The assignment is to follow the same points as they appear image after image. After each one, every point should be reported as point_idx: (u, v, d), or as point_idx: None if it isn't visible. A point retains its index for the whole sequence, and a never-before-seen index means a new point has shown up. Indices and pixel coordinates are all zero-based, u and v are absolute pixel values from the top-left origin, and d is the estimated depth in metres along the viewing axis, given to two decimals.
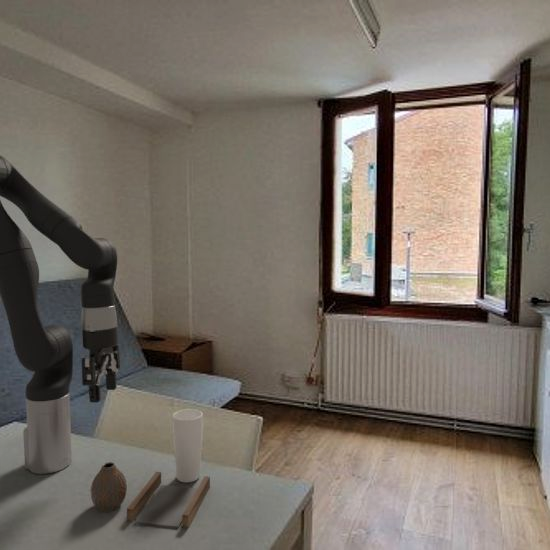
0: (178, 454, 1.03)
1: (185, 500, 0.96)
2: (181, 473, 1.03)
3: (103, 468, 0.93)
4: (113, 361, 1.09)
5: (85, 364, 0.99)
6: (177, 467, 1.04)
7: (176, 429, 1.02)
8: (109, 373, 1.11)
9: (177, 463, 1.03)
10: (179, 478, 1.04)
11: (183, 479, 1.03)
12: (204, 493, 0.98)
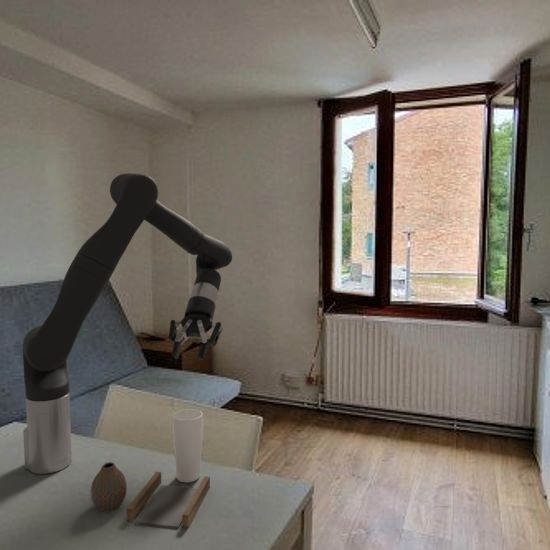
0: (178, 454, 1.03)
1: (185, 500, 0.96)
2: (181, 473, 1.03)
3: (103, 468, 0.93)
4: None
5: (220, 328, 1.20)
6: (177, 467, 1.04)
7: (176, 429, 1.02)
8: (179, 343, 1.19)
9: (177, 463, 1.03)
10: (179, 478, 1.04)
11: (183, 479, 1.03)
12: (204, 493, 0.98)
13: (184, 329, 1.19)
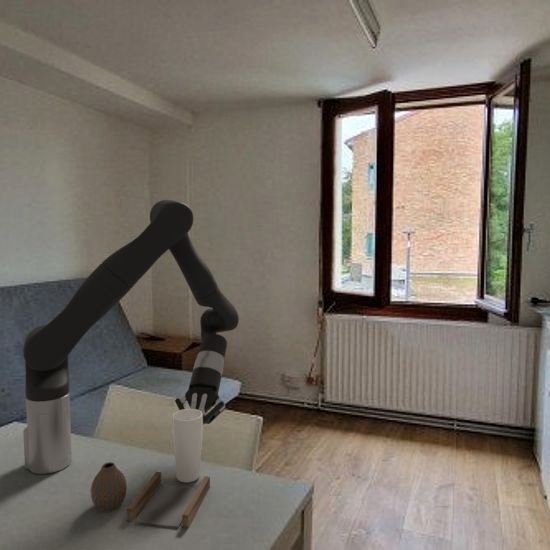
0: (178, 454, 1.03)
1: (185, 500, 0.96)
2: (181, 473, 1.03)
3: (103, 468, 0.93)
4: None
5: (221, 408, 1.13)
6: (177, 467, 1.04)
7: (176, 429, 1.02)
8: None
9: (177, 463, 1.03)
10: (179, 478, 1.04)
11: (183, 479, 1.03)
12: (204, 493, 0.98)
13: (194, 405, 1.12)
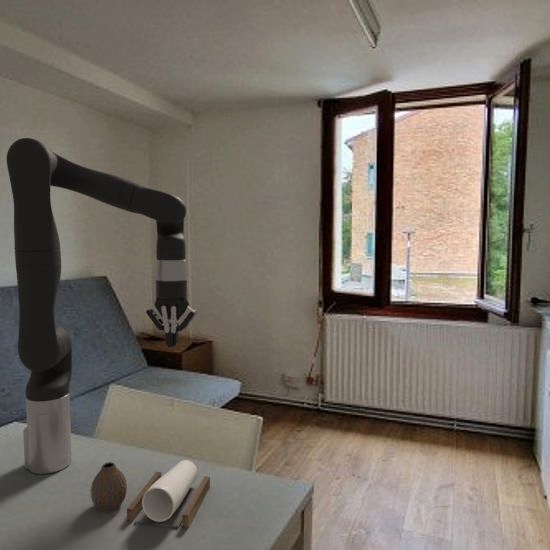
0: None
1: (185, 500, 0.96)
2: None
3: (103, 468, 0.93)
4: None
5: (192, 317, 1.14)
6: None
7: None
8: (170, 331, 1.16)
9: None
10: None
11: None
12: (204, 493, 0.98)
13: (166, 318, 1.14)
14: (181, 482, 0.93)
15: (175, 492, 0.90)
